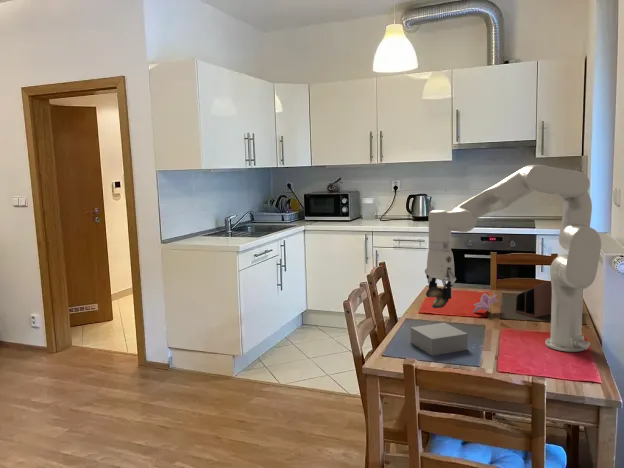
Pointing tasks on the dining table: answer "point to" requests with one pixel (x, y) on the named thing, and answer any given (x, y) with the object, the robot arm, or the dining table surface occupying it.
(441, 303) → the eagle figurine
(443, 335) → the gray block
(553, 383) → the dining table surface
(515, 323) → the dining table surface
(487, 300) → the lily
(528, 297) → the letter holder
